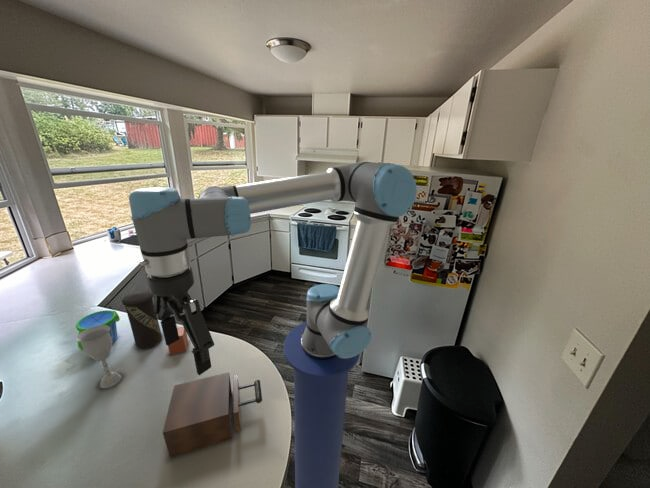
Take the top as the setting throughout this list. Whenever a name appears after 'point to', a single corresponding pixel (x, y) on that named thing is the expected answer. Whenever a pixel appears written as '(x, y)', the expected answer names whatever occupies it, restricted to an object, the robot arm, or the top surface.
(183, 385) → the cabinet
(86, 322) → the snack cup
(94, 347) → the chalice
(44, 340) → the top surface
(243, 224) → the robot arm
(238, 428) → the drawer
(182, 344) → the block
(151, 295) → the container
